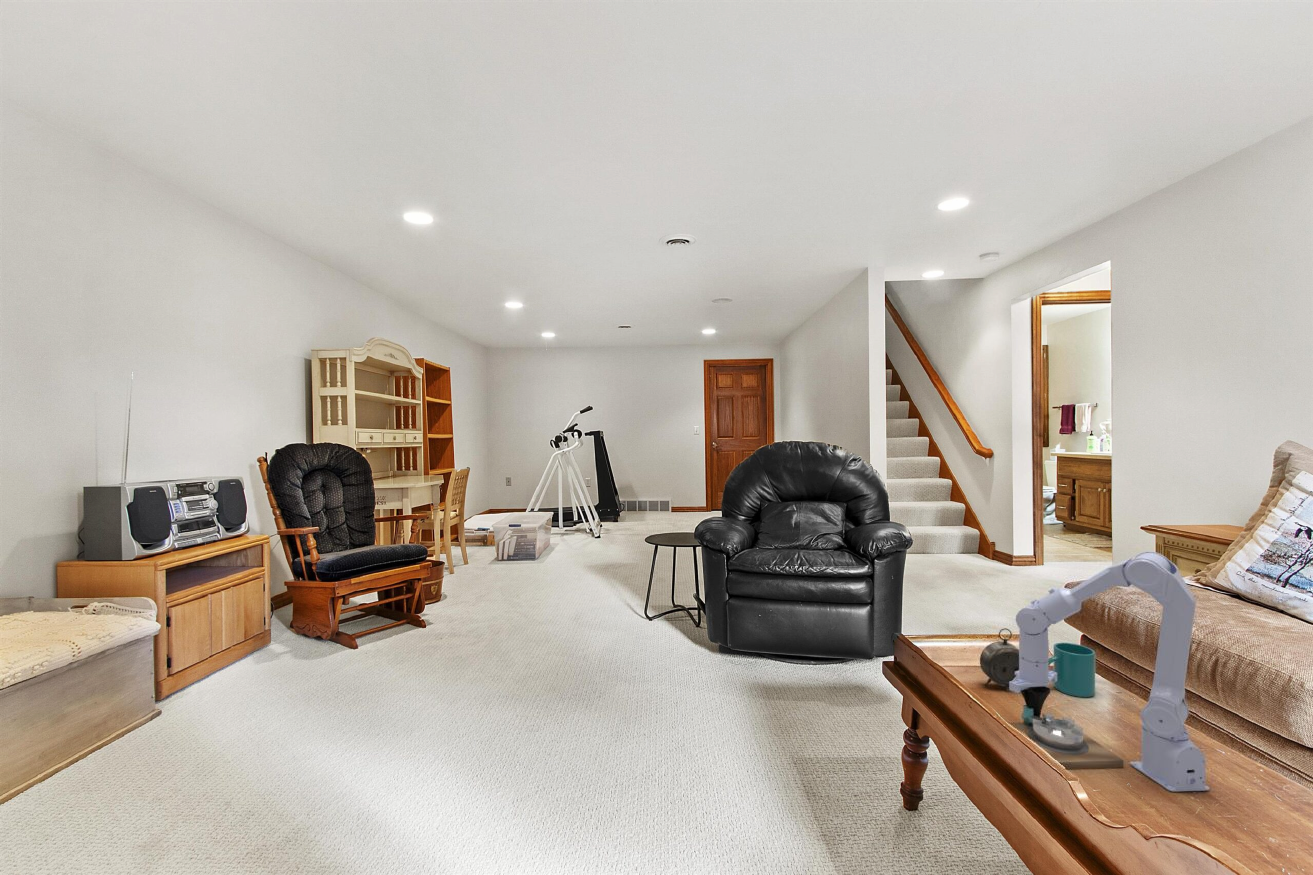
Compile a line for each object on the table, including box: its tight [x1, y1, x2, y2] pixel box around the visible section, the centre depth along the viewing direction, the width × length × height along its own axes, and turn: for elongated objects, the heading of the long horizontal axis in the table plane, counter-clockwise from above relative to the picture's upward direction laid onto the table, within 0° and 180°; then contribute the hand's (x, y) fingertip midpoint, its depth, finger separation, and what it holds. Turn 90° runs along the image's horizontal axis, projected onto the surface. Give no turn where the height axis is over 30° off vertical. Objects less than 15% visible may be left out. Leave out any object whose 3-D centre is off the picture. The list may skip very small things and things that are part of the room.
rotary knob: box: [1021, 704, 1084, 750], centre depth 130 cm, size 12×9×4 cm
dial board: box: [1009, 722, 1124, 770], centre depth 128 cm, size 16×16×2 cm
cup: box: [1049, 642, 1096, 698], centre depth 156 cm, size 9×12×11 cm
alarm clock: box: [979, 627, 1019, 693], centre depth 157 cm, size 11×5×16 cm, turn 84°
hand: (1033, 716), depth 135 cm, fingers closed
